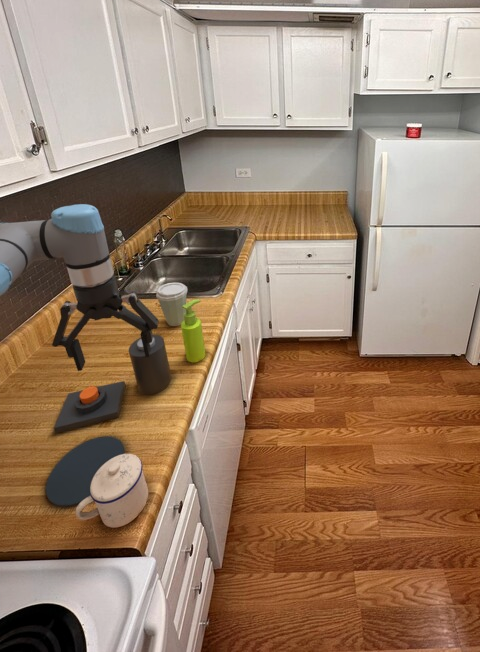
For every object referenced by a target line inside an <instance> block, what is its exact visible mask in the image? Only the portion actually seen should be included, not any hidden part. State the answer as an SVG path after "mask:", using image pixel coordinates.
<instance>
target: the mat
mask: <svg viewBox="0 0 480 652" xmlns="http://www.w3.org/2000/svg"><path fill="white" fill-rule="evenodd" d="M122 454H126V448H125V445H124V444H123V442H122V440H120V439H119V438H117V437H115V436H109V435H108V436H104V435H103V436H98V437H94V438H91V439H88V440H86V441H84V442H82V443H80V444H78V445H76V446H75V447H74V448H72V449H71V450H70V451H68V452H67V453H66V454H65V455H64V456H63V457H62V458H61V459H60V460H59V461H58V462H57V463H56V465H54V467H53V468H52V470H51V472H50V473H49V476H48V478H47V481H46V483H45V495H46V498H47V499H48V501H49V502H50V503H51V504H52V505H54V506H56V507H61V508H69V507H76V506H78V505H79V503H80V502H81V501H83V500H84V499H85V498H87V497H89V496H91V495H90V486H91V482H92V479H93V477H94V475H95V474H96V472H97V471H98V470H99V469H100V467H101V466H102V465H104V464H105V463H106V462H107V461H109V460H110V459H112V458H114V457H116V456H118V455H122Z"/></svg>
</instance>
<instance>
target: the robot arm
mask: <svg viewBox="0 0 480 652" xmlns="http://www.w3.org/2000/svg"><path fill="white" fill-rule="evenodd" d="M50 217H51V218H50V219H44V220H43V219H42V220H41V219H40V220H30V221H18V222H0V297H1V296H2V295H4V294H5V293H6V292H7V291H8V290H9V288H10V286H11V285H12V284H13V283H14V282H15V281H16V280H17V279H18V278H19V277H20V276H21V275H22V274H23V273H24V272H25V271H26V270H27V269H28V268H29V267H30V266H31V265H32V263H33V262H37V261H38V262H39V261H44V260H45V261H47V260H53V259H54V260H55V259H58V258H63V260H64V264H65V265H66V269H67V273H68V276H69V281H70V284H71V285H72V289H73V293H74V297H75V299H76V301H77V302H71V301H70V300H65V301H64V303H63V304H62V305H61V307H60V309H59V312H60V319H59V323H58V325H57V327H56V331H55V334H54V338H53V340H52V343H51V345H52V347H55V348H57V347H59V346H61V347H64V349H65V352H66V355H67V357H68V358H69V359H71V358H73V361H74V364H75V367H76V370H77V371H78V372H82V370H83V369H84V366H85V364H86V359H85V355H84V353H83V349H82V346H81V343H80V339H79V338H77V337H78V335H79V334H80V332H81V331H82V330H83V328H84V327H85V326H86V325H87V324H88V322H90V319H91V320H94V321H99V320H102V319H112V317H114V318H116V319H117V320H122V321H123V322H126V323H127V324H128V325H130V326H132V327H134V328H135V329H137V330H139V331H140V338H141V339H142V344H143V348H144V352H145V357H149V356H150V351H151V348H150V343H152V339H153V335H154V334H153V330H156V329H158V326H159V321H160V320H159V319H158V317H157V316H156V315H155V314H154V313H153V312H152V311H151V310H150V309H149V308H148V306H146V305H145V304H144V303H143V302H142V301H141V300H140V297H139V296H138V293H137V292H136V291H135V290H132V291H130V293H129V294H124V295H122V294H121V293H120V290H119V286H118V282H117V278H116V275H115V270H114V266H113V262H112V258H111V253H110V250H109V246H108V241H107V237H106V233H105V225H104V224H103V222H102V217H101V215H100V212H99V209H98V208H97V207H95V206H94V205H91V204H86V203H83V204H82V203H79V204H71V205H65V206H61V207H58V208H55V209H54V210H53V211H52V212H51V213H50ZM123 303H126V304H127V306H130V307H131V309H133V311H134V312H135V313H134V312H133V311H131V310H129V309H128V308H127V307H126V306H125V305H124V304H123ZM76 310H77V311H78V312H80V313H81V314H82V316H81V318H80V319H79V320H78V322H76V324H75V326H74V327H73V329H72V330H71V331H70V332H69V333H68V335H67V336H65V333H66V330H67V327H68V324H69V322H70V319H71V316H72V314H73V313H74V312H75V311H76Z"/></svg>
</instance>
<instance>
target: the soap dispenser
mask: <svg viewBox="0 0 480 652" xmlns="http://www.w3.org/2000/svg"><path fill="white" fill-rule="evenodd" d="M199 303H201V300H200V299H198V298H195V299H192V300H189V301H188V302H186V304H185V305H183V306H182V307H183V308H184V309H186V312H185V313H184V321H183V322H182V323H181V325H180V329H181V333H182V339H183V345H184V351H185V356H186V360H187V362H189V363H198V362H201V361H202V360H203V359H204V358H205V357H206V347H205V340H204V334H203V328H202V327H203V326H202V321H201V319H200V318H199V317H196V315H197V314H196V312H195V311H194V310H193V308H192V307H193V306H195V305H197V304H199Z"/></svg>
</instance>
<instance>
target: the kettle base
mask: <svg viewBox="0 0 480 652" xmlns="http://www.w3.org/2000/svg"><path fill="white" fill-rule="evenodd" d="M95 387H96V388H97V389H98V393H99V397H98V398H97V399H96V400H95V401H94V402H92V403H90V404H82V402H81V399H80V393H81V392H82V391H83V390H84V389H83V390H78V391H73V392H69V393H67V395H66V398H65V401H64V403H63V405H62V408H61V410H60V412H59V414H58V417H57V419H56V421H55V424H54V426H53V430H54V433H55V434H59V433H64V432H68V431H71V430H75V429H79V428H83V427H87V426H90V425H95V424H99V423H103V422H106V421H110V420H114V419H119V417H120V413H121V408H122V405H123V400H124V397H125V391H126V387H127V385H126V381H125V380H122V381H117V382H112V383H109V384H104V385H99V386H95Z"/></svg>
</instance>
